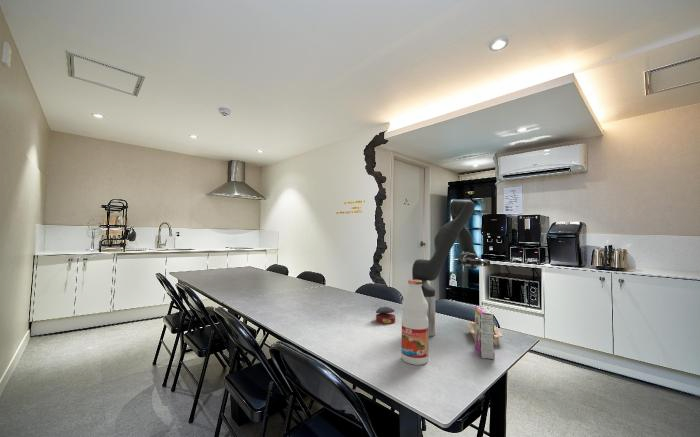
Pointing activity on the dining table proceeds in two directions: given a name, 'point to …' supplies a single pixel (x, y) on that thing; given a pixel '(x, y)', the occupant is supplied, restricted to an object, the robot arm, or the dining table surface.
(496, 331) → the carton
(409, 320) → the fruit juice
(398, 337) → the dining table surface
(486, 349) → the candy bar box
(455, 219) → the robot arm
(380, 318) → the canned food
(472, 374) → the dining table surface
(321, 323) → the dining table surface
